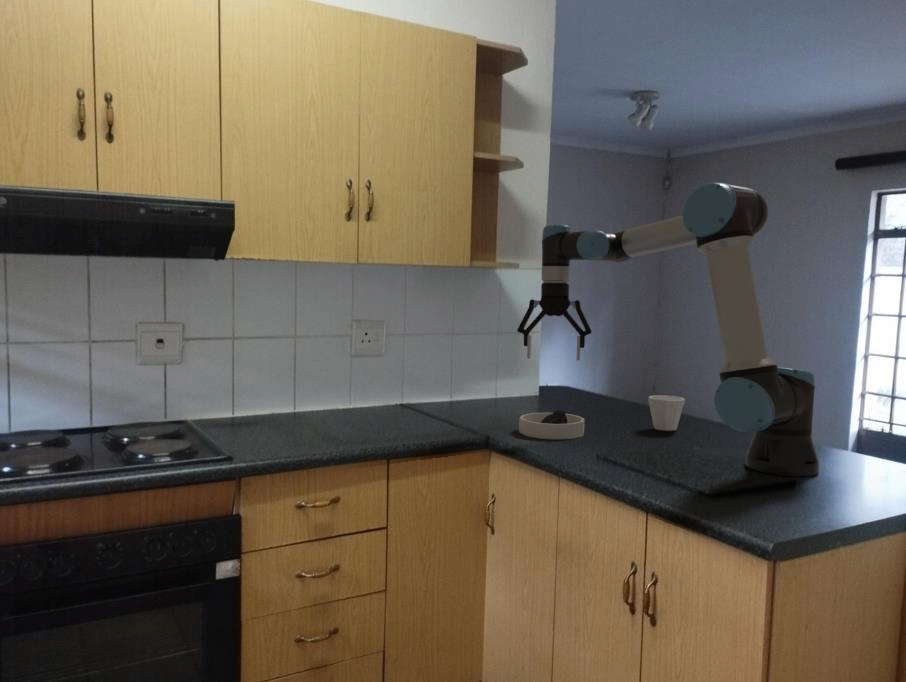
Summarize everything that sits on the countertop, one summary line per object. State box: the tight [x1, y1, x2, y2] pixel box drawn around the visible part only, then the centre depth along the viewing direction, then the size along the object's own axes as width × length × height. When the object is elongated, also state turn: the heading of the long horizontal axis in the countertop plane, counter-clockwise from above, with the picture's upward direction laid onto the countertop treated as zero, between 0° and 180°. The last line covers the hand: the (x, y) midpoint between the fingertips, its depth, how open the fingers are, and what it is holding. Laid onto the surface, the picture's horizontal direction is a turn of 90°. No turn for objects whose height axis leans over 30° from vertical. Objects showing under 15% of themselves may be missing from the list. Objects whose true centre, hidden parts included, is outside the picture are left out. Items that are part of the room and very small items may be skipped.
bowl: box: [518, 411, 585, 440], centre depth 199 cm, size 18×18×4 cm
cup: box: [647, 394, 686, 433], centre depth 204 cm, size 10×10×9 cm
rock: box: [541, 409, 568, 424], centre depth 197 cm, size 7×10×6 cm
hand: (553, 359), depth 197 cm, fingers open, 13 cm apart
